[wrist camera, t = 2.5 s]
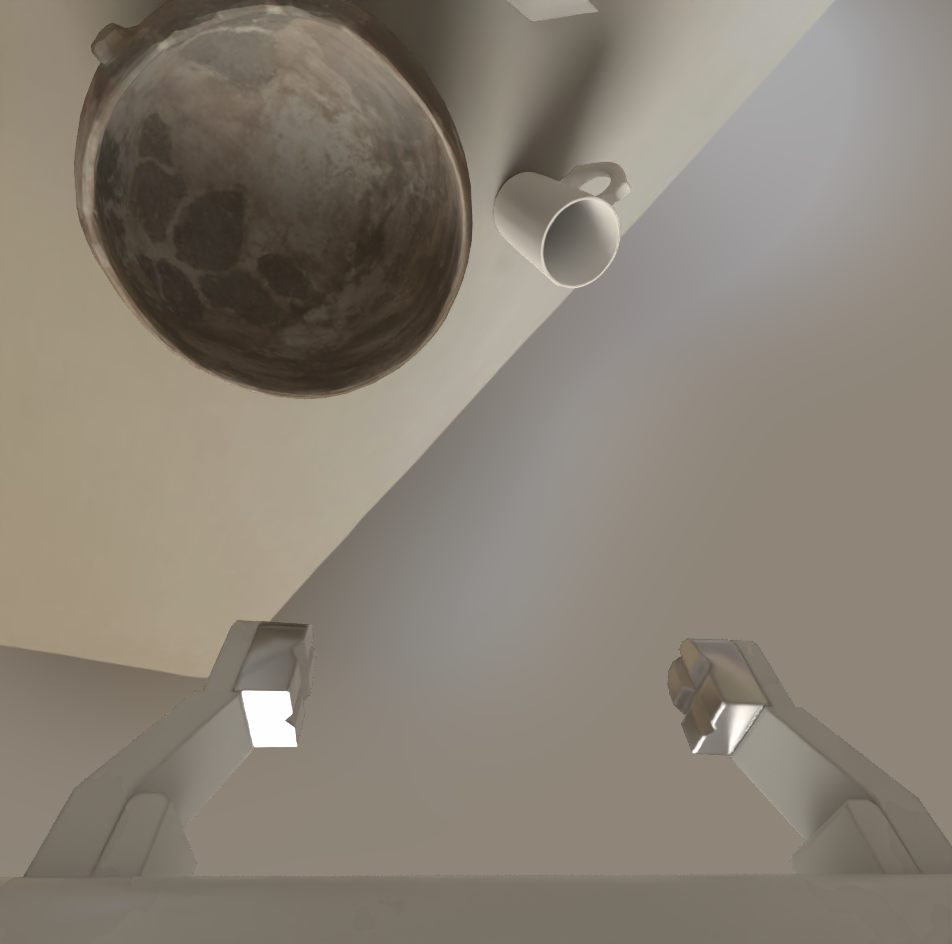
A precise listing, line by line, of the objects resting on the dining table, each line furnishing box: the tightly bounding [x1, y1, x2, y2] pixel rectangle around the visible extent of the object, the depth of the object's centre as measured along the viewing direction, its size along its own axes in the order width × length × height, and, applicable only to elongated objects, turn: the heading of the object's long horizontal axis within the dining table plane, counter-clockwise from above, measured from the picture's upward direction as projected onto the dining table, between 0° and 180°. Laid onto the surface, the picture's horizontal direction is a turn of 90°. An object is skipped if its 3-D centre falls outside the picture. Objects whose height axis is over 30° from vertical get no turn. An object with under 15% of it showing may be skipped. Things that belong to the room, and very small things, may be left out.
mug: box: [494, 162, 631, 288], centre depth 45 cm, size 10×7×12 cm, turn 131°
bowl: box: [74, 0, 472, 399], centre depth 37 cm, size 24×24×15 cm
